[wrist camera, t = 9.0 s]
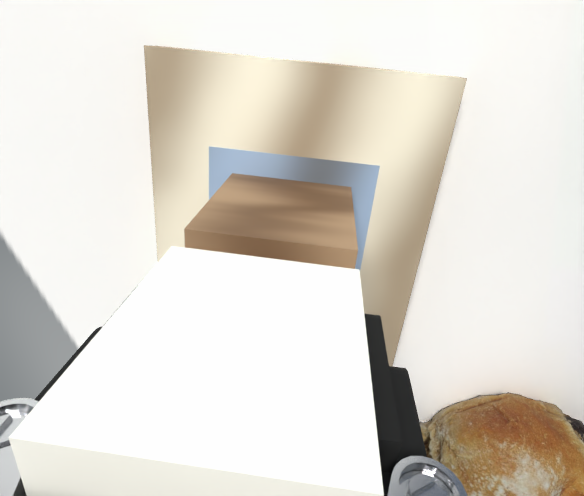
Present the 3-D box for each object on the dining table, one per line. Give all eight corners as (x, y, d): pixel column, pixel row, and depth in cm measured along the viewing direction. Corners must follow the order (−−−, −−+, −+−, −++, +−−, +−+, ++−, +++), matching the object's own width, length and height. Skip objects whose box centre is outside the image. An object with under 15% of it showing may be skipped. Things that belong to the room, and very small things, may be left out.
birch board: (457, 76, 16) (467, 78, 15) (387, 356, 22) (390, 372, 21) (156, 46, 16) (143, 45, 15) (171, 326, 23) (162, 341, 21)
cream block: (359, 269, 11) (383, 495, 5) (333, 408, 13) (331, 667, 7) (171, 245, 11) (8, 438, 5) (177, 385, 13) (65, 621, 8)
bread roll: (436, 340, 26) (395, 434, 20) (643, 398, 21) (675, 549, 15) (423, 448, 30) (386, 553, 24) (592, 518, 25) (600, 674, 19)
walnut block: (351, 186, 17) (358, 250, 11) (334, 289, 19) (334, 383, 14) (232, 173, 17) (184, 228, 12) (229, 276, 19) (188, 362, 14)
